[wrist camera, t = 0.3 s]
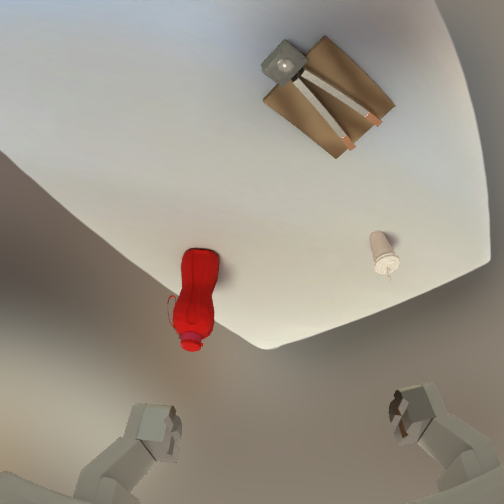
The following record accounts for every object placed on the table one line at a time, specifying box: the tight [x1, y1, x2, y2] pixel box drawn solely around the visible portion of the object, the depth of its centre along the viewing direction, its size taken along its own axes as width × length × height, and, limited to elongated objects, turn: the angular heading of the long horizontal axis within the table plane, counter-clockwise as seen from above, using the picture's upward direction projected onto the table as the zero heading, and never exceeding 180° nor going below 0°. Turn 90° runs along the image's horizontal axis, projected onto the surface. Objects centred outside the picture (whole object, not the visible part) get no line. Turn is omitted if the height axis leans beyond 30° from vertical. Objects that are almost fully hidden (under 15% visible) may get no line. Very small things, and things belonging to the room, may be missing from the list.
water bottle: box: [168, 249, 219, 352], centre depth 72 cm, size 9×11×25 cm
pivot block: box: [261, 39, 309, 87], centre depth 43 cm, size 6×4×7 cm, turn 142°
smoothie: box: [370, 231, 400, 282], centre depth 70 cm, size 6×6×14 cm
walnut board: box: [263, 36, 395, 159], centre depth 50 cm, size 16×18×2 cm
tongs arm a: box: [298, 66, 382, 127], centre depth 46 cm, size 16×1×4 cm, turn 61°
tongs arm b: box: [291, 74, 356, 150], centre depth 48 cm, size 16×1×4 cm, turn 43°
